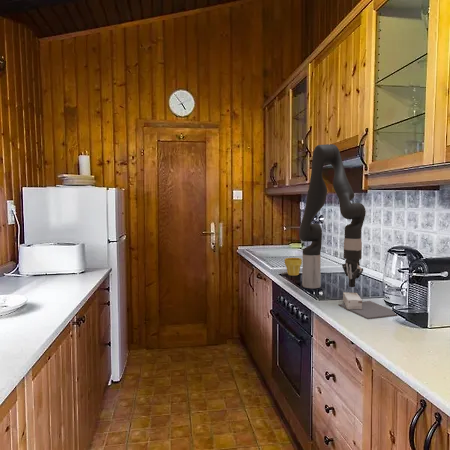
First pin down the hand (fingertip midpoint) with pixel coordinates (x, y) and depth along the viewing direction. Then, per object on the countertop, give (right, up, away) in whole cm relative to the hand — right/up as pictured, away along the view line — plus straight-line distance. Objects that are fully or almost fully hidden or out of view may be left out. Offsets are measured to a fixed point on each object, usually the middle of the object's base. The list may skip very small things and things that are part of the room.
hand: (352, 286), depth 169 cm
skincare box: (-1, -4, 0) cm, 4 cm away
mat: (+3, -8, -11) cm, 14 cm away
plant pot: (-15, -3, +64) cm, 65 cm away
